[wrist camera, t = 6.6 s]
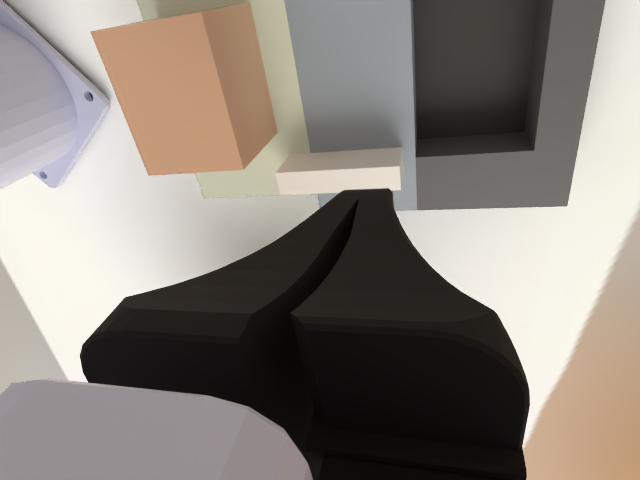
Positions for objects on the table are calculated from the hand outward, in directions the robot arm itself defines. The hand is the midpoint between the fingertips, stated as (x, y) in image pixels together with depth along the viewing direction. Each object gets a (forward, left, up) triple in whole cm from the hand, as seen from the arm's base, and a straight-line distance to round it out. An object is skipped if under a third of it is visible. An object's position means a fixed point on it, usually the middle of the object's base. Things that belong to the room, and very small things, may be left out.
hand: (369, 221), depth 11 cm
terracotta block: (-6, -4, -7) cm, 10 cm away
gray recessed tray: (-2, +3, -9) cm, 10 cm away
